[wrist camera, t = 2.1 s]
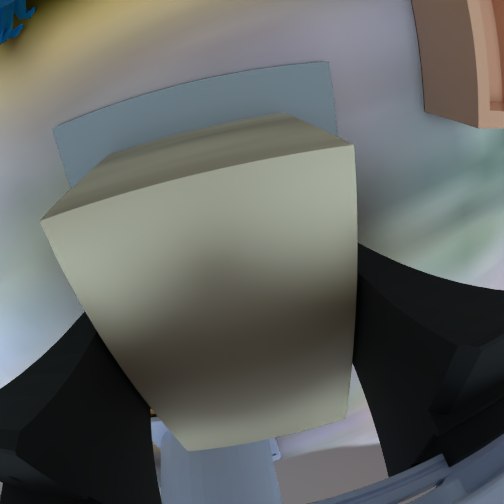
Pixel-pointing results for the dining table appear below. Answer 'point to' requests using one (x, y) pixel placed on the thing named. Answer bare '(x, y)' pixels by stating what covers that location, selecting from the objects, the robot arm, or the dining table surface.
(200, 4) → the dining table surface
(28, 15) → the toy
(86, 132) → the mat
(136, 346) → the block
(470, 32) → the brown block
